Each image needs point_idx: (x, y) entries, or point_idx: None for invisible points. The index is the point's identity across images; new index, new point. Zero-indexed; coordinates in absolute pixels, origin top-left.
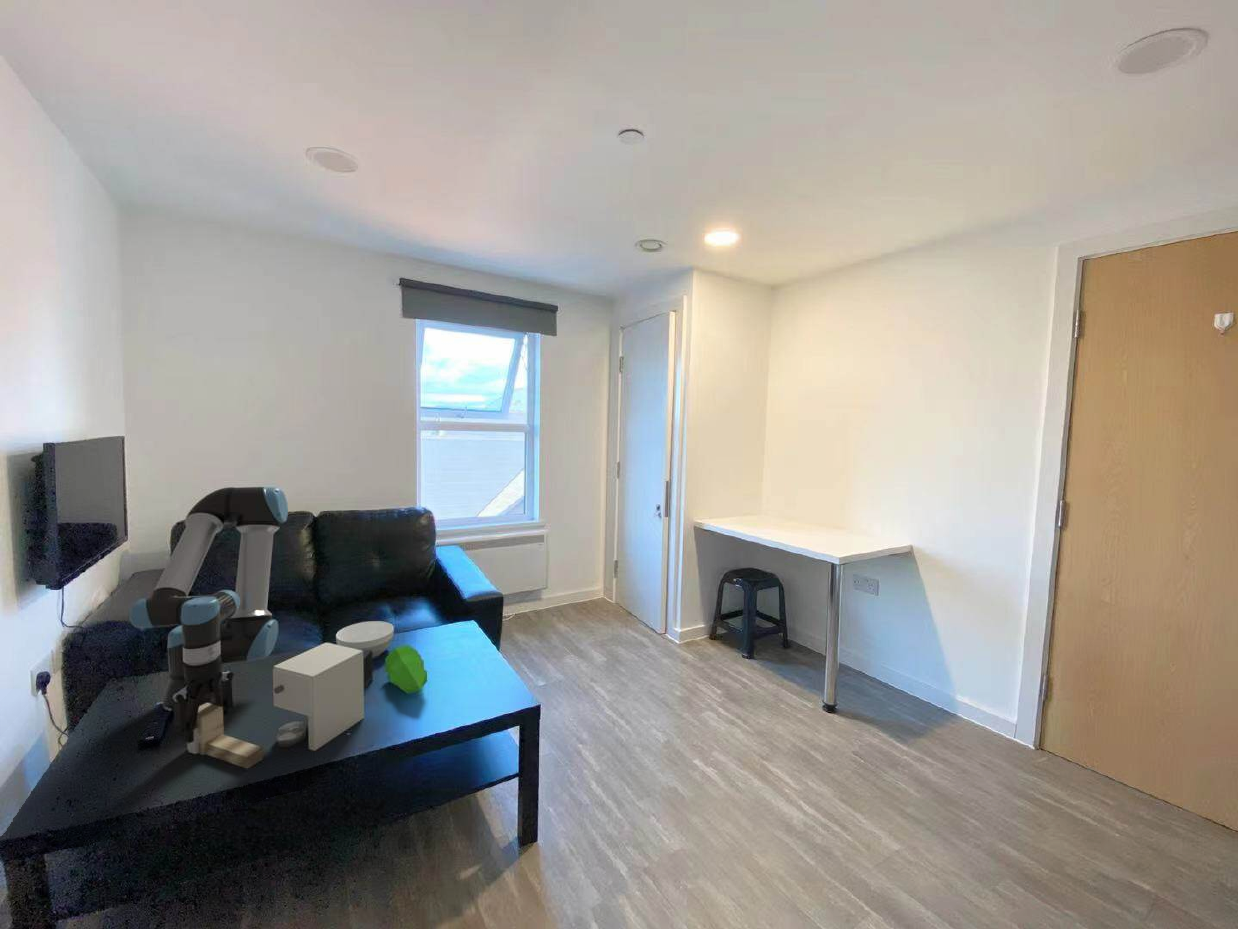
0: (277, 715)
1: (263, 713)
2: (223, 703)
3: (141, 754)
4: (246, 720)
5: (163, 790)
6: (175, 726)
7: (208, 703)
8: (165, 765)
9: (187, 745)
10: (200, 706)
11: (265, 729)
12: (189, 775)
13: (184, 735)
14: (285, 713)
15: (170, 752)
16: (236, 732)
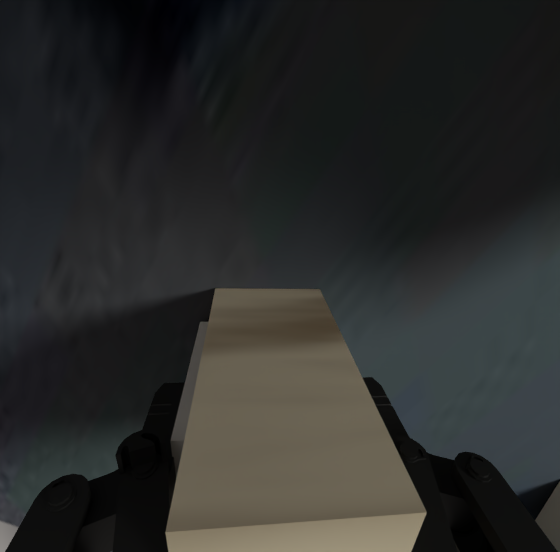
0: (535, 383)
1: (554, 319)
2: (475, 513)
3: (50, 66)
4: (491, 303)
5: (16, 458)
6: (20, 543)
7: (409, 539)
8: (90, 319)
9: (213, 300)
10: (330, 537)
11: (431, 425)
12: (115, 453)
13: (145, 423)
14: (550, 396)
15: (160, 229)
16: (392, 352)
